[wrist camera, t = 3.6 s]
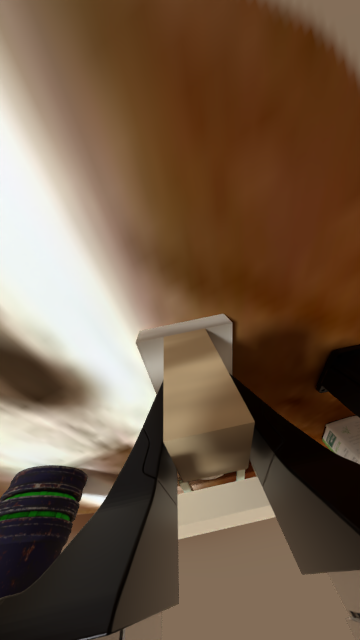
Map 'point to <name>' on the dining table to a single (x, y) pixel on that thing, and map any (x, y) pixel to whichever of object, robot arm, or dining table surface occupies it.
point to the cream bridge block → (222, 507)
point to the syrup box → (344, 438)
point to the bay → (187, 487)
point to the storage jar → (36, 523)
